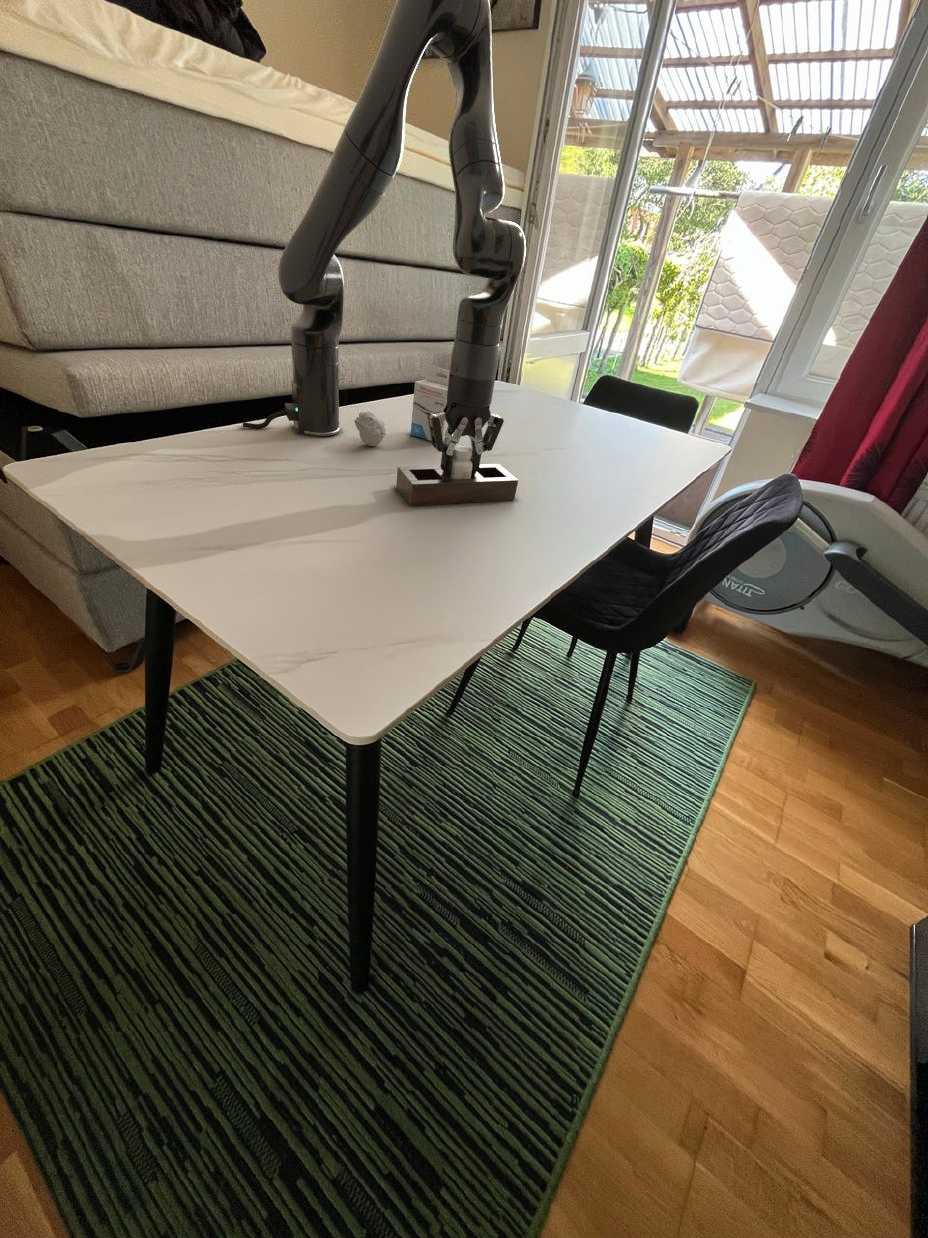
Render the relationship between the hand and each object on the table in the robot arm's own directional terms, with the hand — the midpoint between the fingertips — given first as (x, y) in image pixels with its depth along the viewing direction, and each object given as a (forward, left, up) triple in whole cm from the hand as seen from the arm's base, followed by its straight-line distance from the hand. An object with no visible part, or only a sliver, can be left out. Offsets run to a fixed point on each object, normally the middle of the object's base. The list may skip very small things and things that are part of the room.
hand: (459, 472), depth 94 cm
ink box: (+7, +31, -4) cm, 32 cm away
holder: (0, 0, -4) cm, 4 cm away
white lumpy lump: (-9, +26, -4) cm, 28 cm away
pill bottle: (0, 0, -3) cm, 3 cm away
